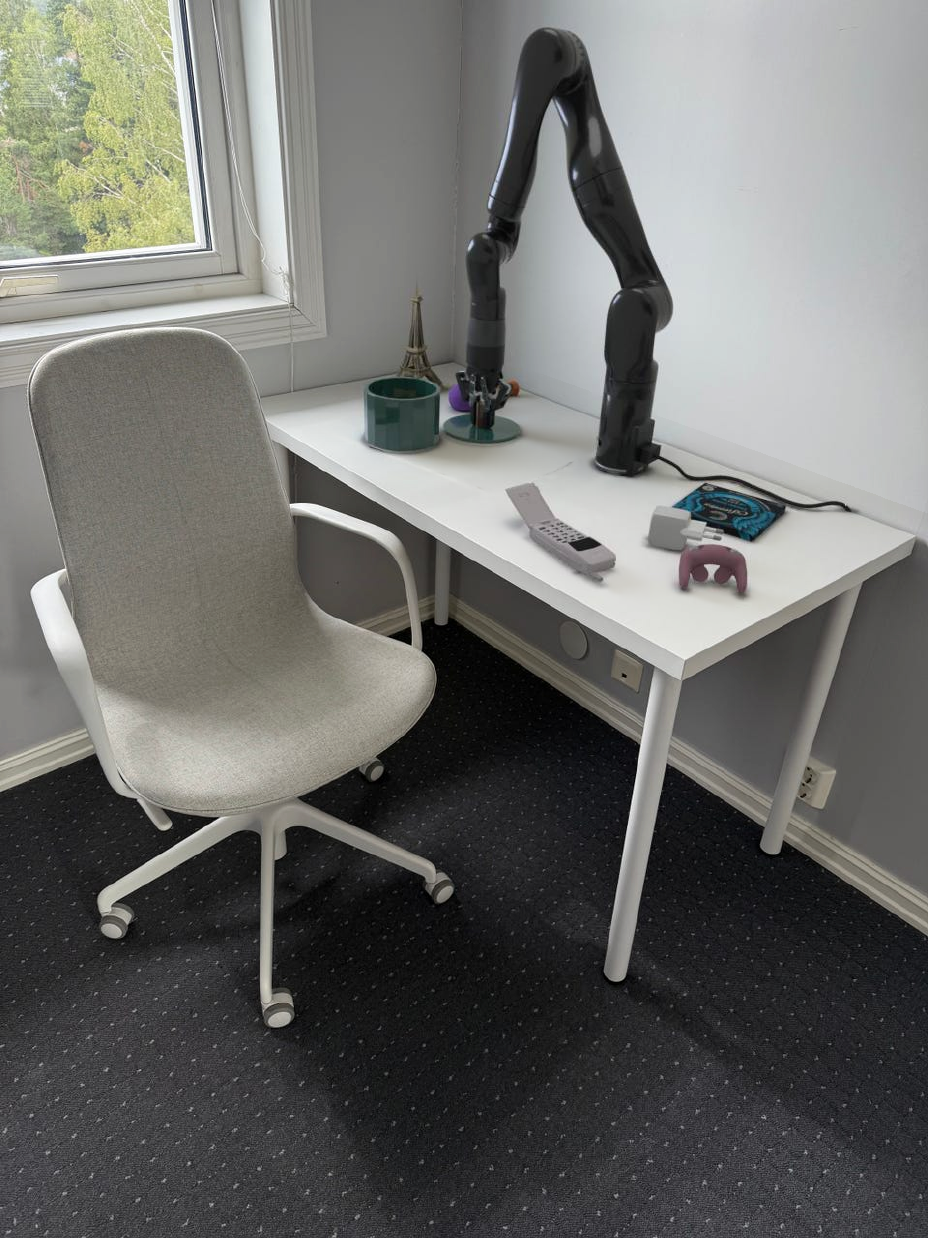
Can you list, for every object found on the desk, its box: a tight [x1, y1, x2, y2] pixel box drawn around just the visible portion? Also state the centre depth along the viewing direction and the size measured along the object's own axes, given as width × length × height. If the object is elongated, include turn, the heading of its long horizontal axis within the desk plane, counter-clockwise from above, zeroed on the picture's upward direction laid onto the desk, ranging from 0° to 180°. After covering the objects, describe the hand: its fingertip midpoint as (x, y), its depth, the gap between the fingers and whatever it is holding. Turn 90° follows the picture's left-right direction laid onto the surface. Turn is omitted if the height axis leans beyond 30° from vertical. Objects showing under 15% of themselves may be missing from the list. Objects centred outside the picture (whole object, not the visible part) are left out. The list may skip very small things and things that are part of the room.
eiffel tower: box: [394, 277, 448, 392], centre depth 202 cm, size 11×11×25 cm
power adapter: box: [647, 505, 725, 551], centre depth 143 cm, size 11×5×6 cm, turn 69°
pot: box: [363, 376, 441, 453], centre depth 178 cm, size 15×15×10 cm
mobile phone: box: [504, 482, 617, 583], centre depth 142 cm, size 6×6×25 cm
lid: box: [442, 400, 521, 444], centre depth 185 cm, size 16×16×6 cm
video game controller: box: [678, 543, 748, 595], centre depth 134 cm, size 10×5×7 cm, turn 84°
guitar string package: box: [671, 482, 787, 543], centre depth 156 cm, size 15×1×15 cm
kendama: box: [448, 380, 521, 412], centre depth 200 cm, size 6×6×20 cm
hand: (481, 425), depth 186 cm, fingers closed on lid, 2 cm apart
